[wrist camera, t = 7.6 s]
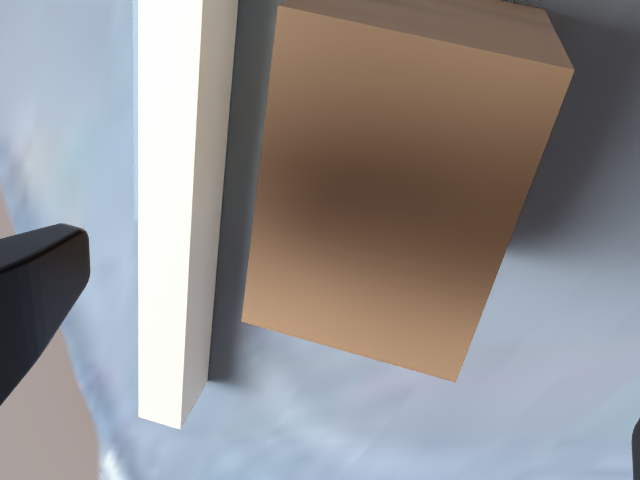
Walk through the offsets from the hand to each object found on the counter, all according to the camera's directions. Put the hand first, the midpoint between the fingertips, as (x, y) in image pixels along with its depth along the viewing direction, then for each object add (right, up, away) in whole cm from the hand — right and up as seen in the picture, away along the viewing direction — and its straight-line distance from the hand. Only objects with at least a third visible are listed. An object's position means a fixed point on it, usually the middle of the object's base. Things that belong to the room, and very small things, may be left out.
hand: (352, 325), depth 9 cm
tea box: (+2, +5, +8) cm, 9 cm away
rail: (-4, +6, +8) cm, 11 cm away
